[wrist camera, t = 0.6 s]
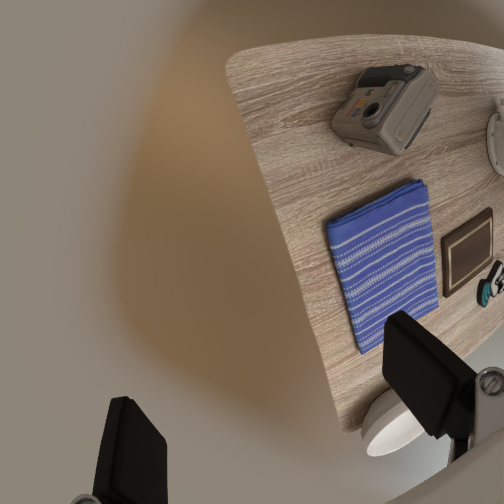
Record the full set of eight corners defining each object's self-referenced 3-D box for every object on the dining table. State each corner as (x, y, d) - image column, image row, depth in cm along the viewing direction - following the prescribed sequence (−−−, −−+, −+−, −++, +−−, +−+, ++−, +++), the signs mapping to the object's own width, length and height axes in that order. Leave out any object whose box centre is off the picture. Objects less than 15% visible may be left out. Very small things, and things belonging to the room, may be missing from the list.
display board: (440, 238, 40) (445, 240, 39) (488, 207, 40) (492, 208, 39) (443, 296, 44) (446, 298, 43) (489, 260, 45) (492, 262, 44)
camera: (368, 61, 28) (425, 56, 20) (393, 93, 31) (450, 97, 22) (319, 120, 30) (372, 127, 22) (348, 151, 33) (403, 168, 25)
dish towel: (416, 174, 35) (429, 176, 33) (433, 302, 44) (443, 308, 41) (318, 220, 35) (327, 225, 32) (357, 351, 43) (364, 361, 41)
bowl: (368, 436, 56) (383, 461, 47) (336, 416, 49) (352, 448, 41) (429, 388, 54) (448, 411, 45) (411, 356, 47) (436, 384, 39)
